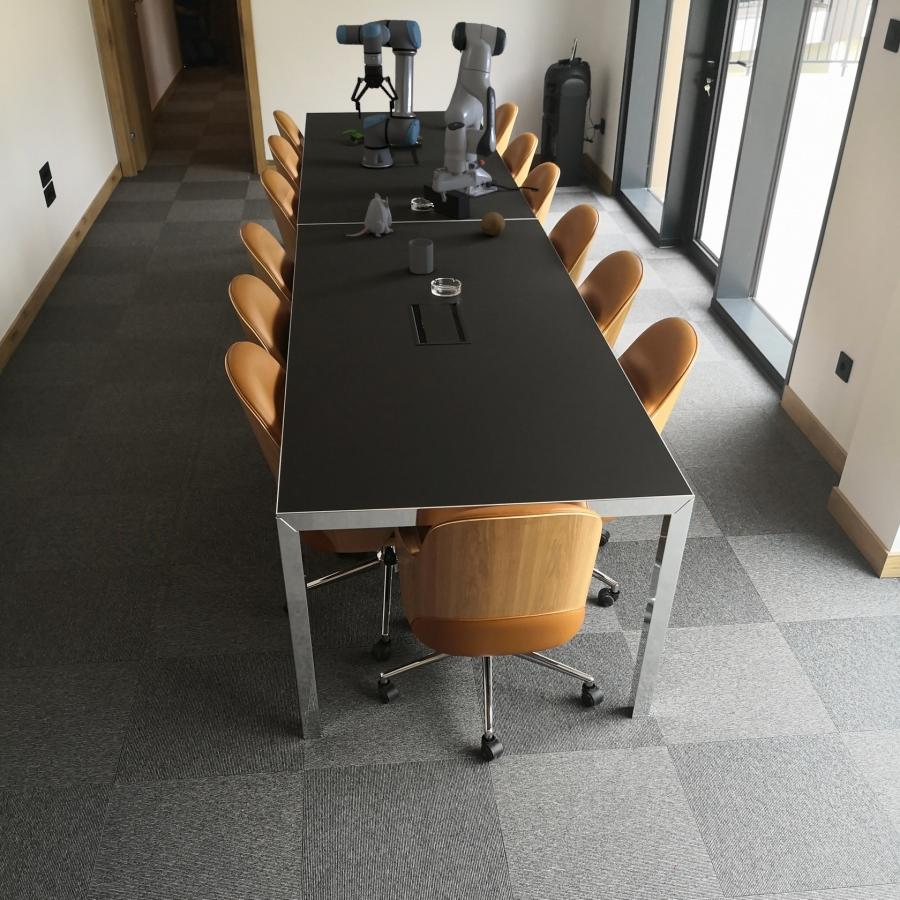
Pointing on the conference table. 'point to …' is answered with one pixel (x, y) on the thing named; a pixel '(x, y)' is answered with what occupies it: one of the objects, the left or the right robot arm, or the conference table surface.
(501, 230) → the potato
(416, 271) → the cup
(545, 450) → the conference table surface
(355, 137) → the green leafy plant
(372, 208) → the toy
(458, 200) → the bar
